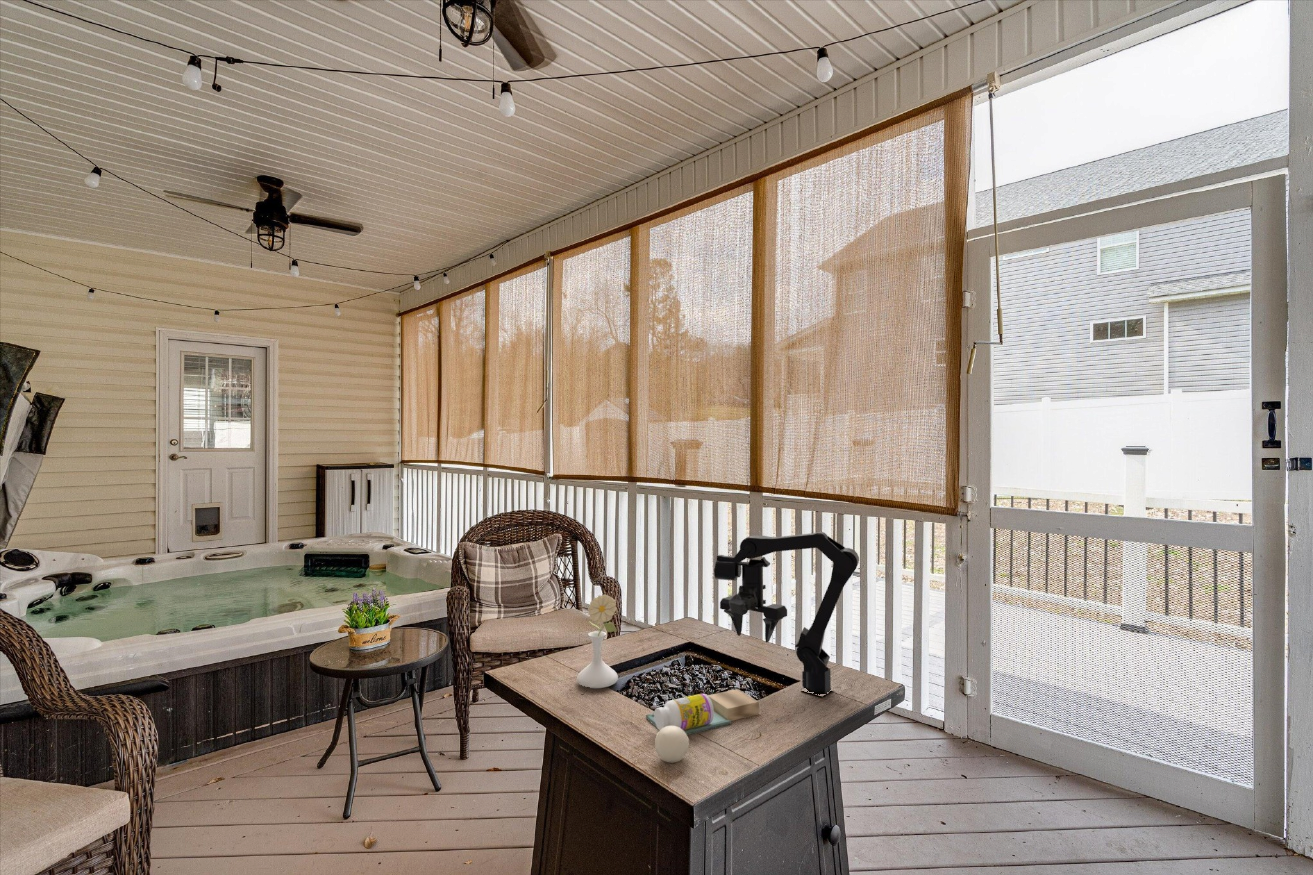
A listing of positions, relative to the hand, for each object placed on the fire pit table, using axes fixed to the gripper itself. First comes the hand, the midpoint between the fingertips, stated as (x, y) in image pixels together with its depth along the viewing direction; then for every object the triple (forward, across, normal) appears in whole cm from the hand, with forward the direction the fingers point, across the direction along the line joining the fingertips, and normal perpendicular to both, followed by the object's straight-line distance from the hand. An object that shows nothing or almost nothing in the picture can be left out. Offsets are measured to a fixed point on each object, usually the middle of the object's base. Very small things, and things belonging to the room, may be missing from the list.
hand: (753, 638), depth 169 cm
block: (+12, +7, -19) cm, 23 cm away
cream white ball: (+12, +11, -47) cm, 50 cm away
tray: (+12, +2, -31) cm, 33 cm away
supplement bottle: (+8, +7, -29) cm, 31 cm away
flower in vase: (+12, -30, -30) cm, 44 cm away
